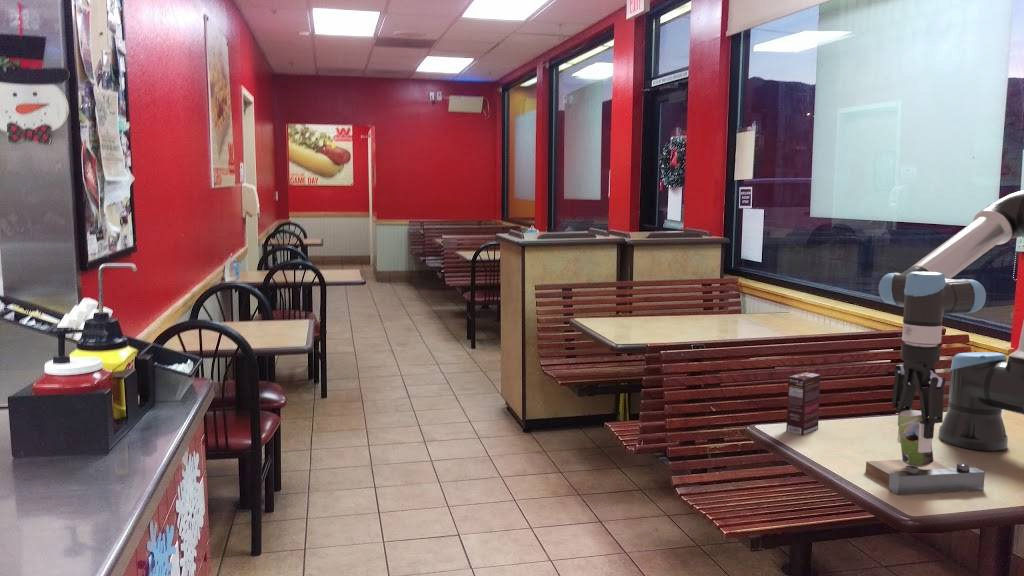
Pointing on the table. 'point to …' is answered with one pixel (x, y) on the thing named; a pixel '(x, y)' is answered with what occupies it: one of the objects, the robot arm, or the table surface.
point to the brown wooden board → (894, 468)
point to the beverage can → (912, 439)
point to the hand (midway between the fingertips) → (914, 446)
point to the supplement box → (803, 403)
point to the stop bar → (936, 480)
